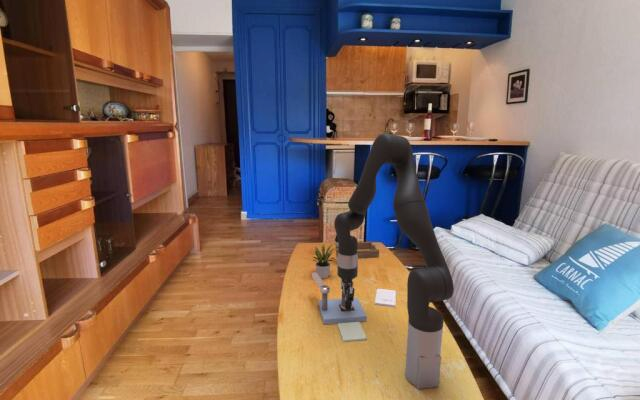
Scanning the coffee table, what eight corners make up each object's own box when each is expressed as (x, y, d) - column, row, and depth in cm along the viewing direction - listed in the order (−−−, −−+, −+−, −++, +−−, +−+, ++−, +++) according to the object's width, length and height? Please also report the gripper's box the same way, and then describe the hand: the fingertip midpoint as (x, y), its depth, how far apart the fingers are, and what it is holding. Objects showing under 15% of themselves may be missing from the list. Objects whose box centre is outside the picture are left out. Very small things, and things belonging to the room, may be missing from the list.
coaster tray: (378, 257, 188) (379, 250, 188) (353, 258, 187) (353, 251, 186) (371, 248, 202) (371, 241, 201) (347, 249, 200) (348, 242, 199)
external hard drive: (395, 294, 150) (395, 308, 138) (376, 291, 152) (374, 306, 140) (396, 290, 150) (395, 304, 138) (376, 288, 151) (374, 302, 139)
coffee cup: (332, 265, 178) (332, 237, 175) (336, 259, 186) (337, 232, 183) (348, 267, 176) (349, 238, 172) (352, 261, 184) (352, 233, 180)
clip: (318, 275, 145) (318, 271, 144) (330, 292, 130) (331, 288, 130) (309, 276, 144) (309, 273, 143) (321, 294, 129) (321, 290, 129)
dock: (366, 321, 128) (367, 299, 126) (323, 324, 126) (323, 302, 124) (357, 302, 142) (357, 282, 140) (318, 304, 140) (318, 284, 138)
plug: (353, 314, 132) (354, 295, 131) (341, 315, 132) (342, 296, 130) (351, 308, 137) (351, 289, 135) (339, 309, 136) (339, 290, 134)
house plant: (343, 271, 171) (343, 239, 167) (337, 284, 157) (338, 249, 154) (315, 268, 174) (314, 237, 170) (307, 280, 161) (306, 247, 157)
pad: (366, 339, 117) (366, 338, 117) (343, 341, 116) (343, 340, 116) (359, 323, 127) (359, 321, 127) (337, 324, 126) (337, 323, 126)
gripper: (362, 271, 123) (361, 314, 127) (353, 256, 137) (352, 295, 141) (341, 272, 122) (340, 316, 126) (334, 257, 136) (333, 297, 140)
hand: (346, 305), depth 134 cm, fingers closed on plug, 4 cm apart
